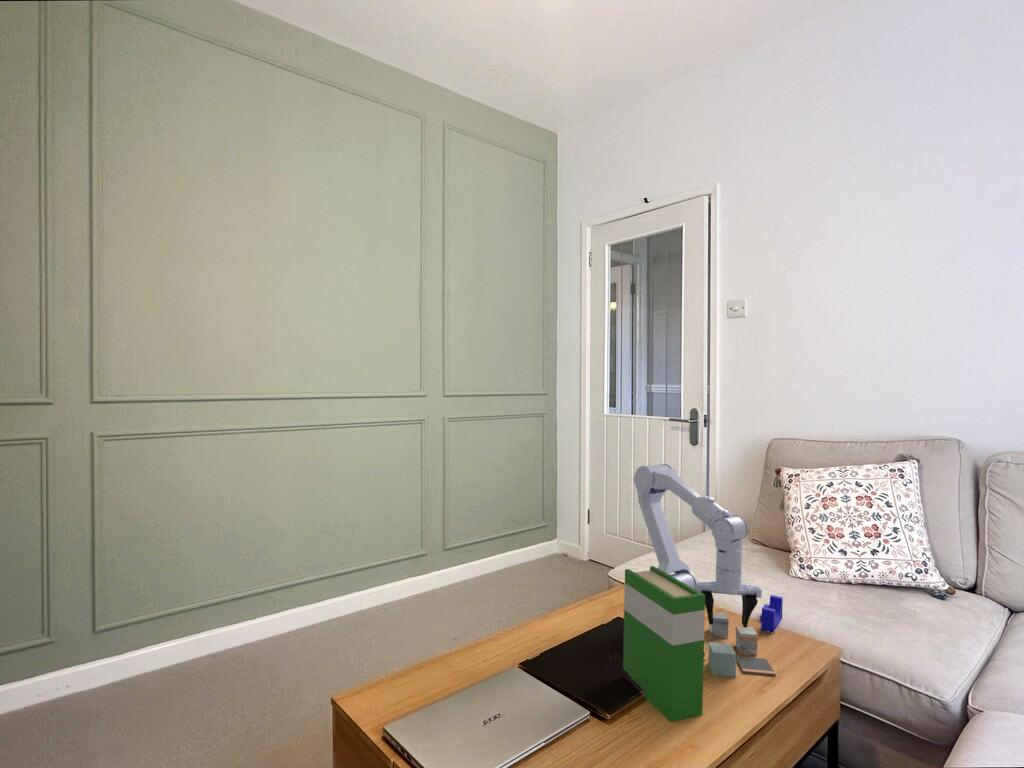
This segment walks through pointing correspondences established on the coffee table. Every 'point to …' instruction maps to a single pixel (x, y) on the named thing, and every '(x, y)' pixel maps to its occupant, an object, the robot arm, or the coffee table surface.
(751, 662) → the pad
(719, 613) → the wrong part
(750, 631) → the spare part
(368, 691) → the coffee table surface
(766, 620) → the cable clip
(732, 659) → the block
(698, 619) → the hardback book
